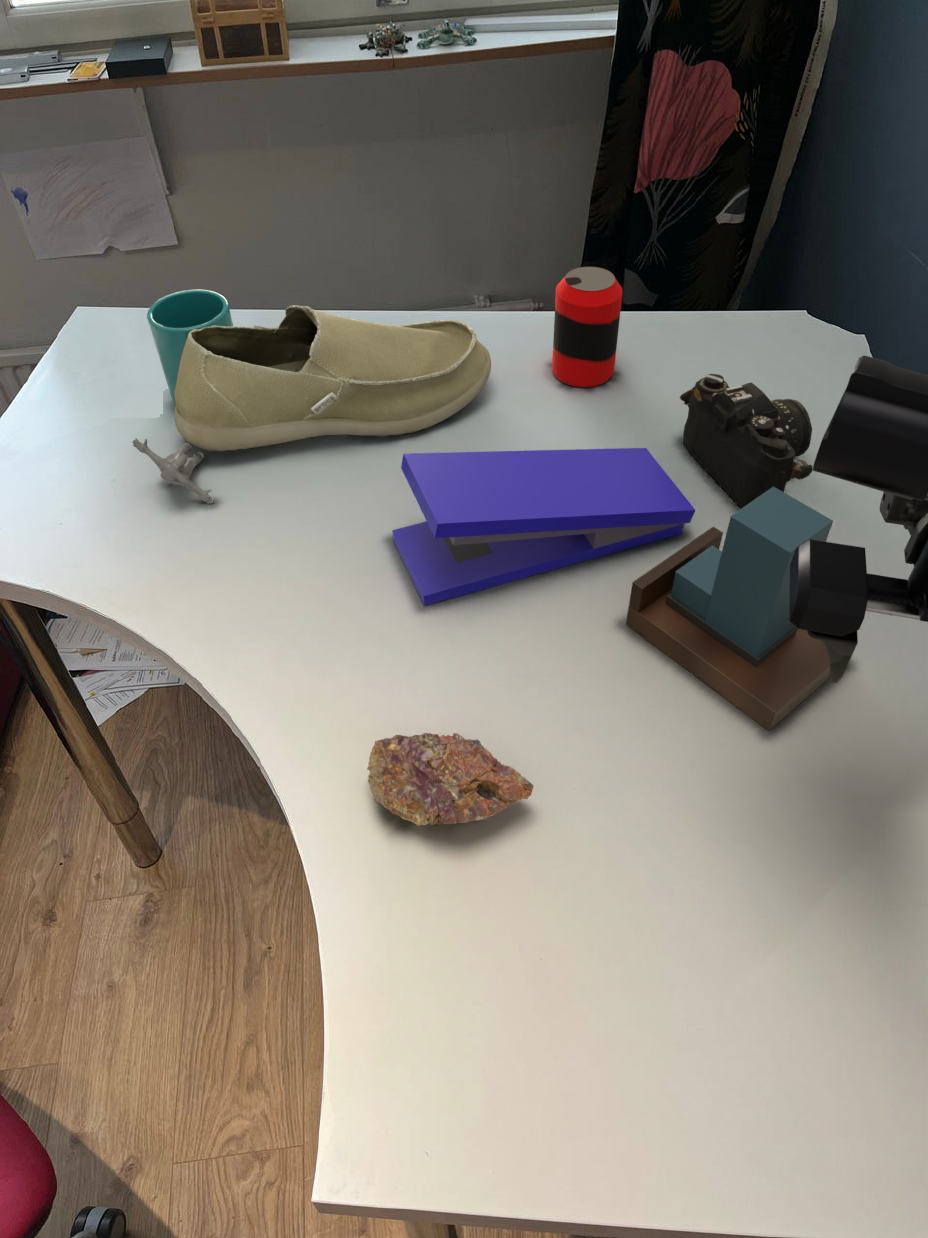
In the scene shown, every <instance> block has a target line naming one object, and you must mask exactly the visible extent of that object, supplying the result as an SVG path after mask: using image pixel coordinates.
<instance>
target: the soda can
mask: <svg viewBox="0 0 928 1238" xmlns="http://www.w3.org/2000/svg"><path fill="white" fill-rule="evenodd" d="M622 300H623V287H622V286H621V284H620V283H619V281H618V280H617V278H616V277H615V275H614V273H612V272H611V271H610V270H608V269H606V268H602V267H597V266H581V267H577V268H574V269H571V270H570V271H568V272H567V273H566V274H565V276H563V278H562V279H561V280H560V281H559V283H557V285H556V288H555V300H554V301H555V302H554V303H555V304H554V321H553V340H552V358H551V370H552V373H553V375H554V376H555V377H556V378H557V379H558V380H559V381H560V382H562V383H563V384H566V385H569V386H572V387H576V388H592V387H597V386H600V385H602V384H604V383H606V382H607V381H608V380H609V379H610V378H612V376H613V375H614V373H615V366H616V357H617V356H616V355H617V348H618V347H617V346H618V339H619V338H618V337H619V330H620V329H619V328H620V320H621V319H620V318H621V311H622Z"/></svg>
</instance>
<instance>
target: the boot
mask: <svg viewBox="0 0 928 1238" xmlns="http://www.w3.org/2000/svg"><path fill="white" fill-rule="evenodd" d="M728 521H729V522H728V525H727V529H726V534H725V537H724V541H723V545H722V550H720V548H719V549H717V548H716V547H714V546H711V547H710V548H708V549H707V550H705V551H704V552H703V553H701V554H700V555H698V556H697V557H696V558H694V559H693V560H691V561H690V562H688V563H687V564H686V565H684V566H683V567H681V568H680V569H679V570H677V571H676V572H675V577H674V582H673V587H672V592H671V593H670V594H669V595H668V596H667V598H666V604H667V605H668V606H670V607H671V608H673V609H674V610H675V611H677V612H678V613H680V614H681V615H683V616H684V617H685V618H687V619H688V620H690V621H691V622H693V623H694V624H695V625H697V626H698V627H700V628H701V629H702V630H704V631H705V632H707V633H708V634H710V635H711V636H712V637H714V638H715V639H717V640H718V641H720V642H721V643H722V644H724V645H725V646H727V647H728V648H729V649H731V650H732V651H734V652H735V653H737V654H738V655H739V656H741V657H742V658H744V659H745V660H747V661H748V662H749V663H751V664H752V665H754V666H755V667H757V666H758V665H759V664H760V663H761V662H763V661H764V660H765V659H766V658H768V657H769V656H770V655H771V654H772V653H774V652H775V651H776V650H777V649H778V648H780V647H781V646H782V645H783V644H785V643H786V642H787V641H788V640H789V639H791V638H792V637H793V636H794V635H796V632H797V629H798V628H797V627H796V626H794V625H793V624H792V623H791V622H790V621H789V596H790V563H791V561H792V558H793V555H794V552H795V549H796V547H797V546H799V545H800V544H802V543H803V542H804V541H806V540H809V539H811V540H818V541H824V542H827V540H828V537H829V534H830V532H831V529H832V526H833V523H834V520H833V519H831V518H829V517H828V516H826V515H824V514H822V513H820V511H817V510H815V509H813V508H812V507H810V506H809V505H807V504H805V503H803V502H801V501H800V500H798V499H796V498H794V497H793V496H791V495H789V494H787V493H785V491H784V492H782V491H780V490H779V489H777V488H775V487H772V488H771V489H769V490H768V491H766V492H765V493H763V494H762V495H761V496H759V497H758V498H756V499H755V500H753V501H752V502H750V503H749V504H748V505H746V506H745V507H743V508H740V509H739V510H737V511H736V512H735V513H733V514H732V515H730V517H729V520H728Z"/></svg>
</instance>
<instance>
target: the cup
mask: <svg viewBox="0 0 928 1238" xmlns="http://www.w3.org/2000/svg"><path fill="white" fill-rule="evenodd" d="M146 319H147V322H148V325H149V329H150V333H151V335H152V339H153V342H154V346H155V348H156V352H157V355H158V358H159V361H160V364H161V368H162V372H163V374H164V378H165V381H166V385H167V387H168V391H169V394H170V397H171V400H172V401H173V403H174V404H175V405H176V401H175V387H176V383H177V377H178V371H179V366H180V361H181V357H182V353H183V349H184V346H185V343H186V340H187V337H188V334H189V333H190V331H192V330H194V329H196V330H200V329H202V328H204V327H209V326H213V325H215V326H227V327H231V326H233V327H235V326H234V323H233V317H232V314H231V309H230V306H229V302H228V300H227V299H226V298H225V297H224V296H223V295H221V294H220V293H218V292H216V291H212V290H207V289H188V290H182V291H177V292H174V293H171V294H167V295H165V296H163V297H162V298H159V299H158V300H157V301H155V302H154V303H153V304H152V305H151V306H150V307H149V308H148V310H147V313H146Z"/></svg>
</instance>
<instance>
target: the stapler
mask: <svg viewBox="0 0 928 1238" xmlns="http://www.w3.org/2000/svg"><path fill="white" fill-rule="evenodd" d="M400 469H401V472H402V473H403V475H404V477H405V479H406V481H407V484H408V486H409V489H410V490H411V492H412V494H413V496H414V498H415V500H416V503H417V505H418V506H419V509H420V511H421V513H422V515H423V517H424V519H425V521H423V522H418V523H415V524H414V523H413V524H410V525H407V526H403V527H399V528H395V529H391V530H392V531H391V533H392V534H391V535H392V541H393V543H394V545H395V547H396V549H397V551H398V553H399V555H400V557H401V560H402V562H403V564H404V566H405V568H406V570H407V572H408V574H409V576H410V579H411V581H412V582H413V585H414V587H415V589H416V591H417V593H418V596H419V597H420V599H421V602H422V604H423V606H424V607H425V606H428V605H433V604H436V603H439V602H443V601H447V600H450V599H454V598H457V597H461V596H465V595H468V594H472V593H474V592H478V591H481V590H482V591H483V590H485V589H489V588H493V587H497V586H500V585H503V584H507V583H510V582H514V581H517V580H521V579H525V578H528V577H531V576H535V575H539V574H542V573H546V572H550V571H553V570H556V569H560V568H564V567H567V566H571V565H574V564H579V563H582V562H586V561H588V560H592V559H596V558H599V557H604V556H607V555H610V554H613V553H617V552H620V551H621V552H622V551H624V550H627V549H632V548H635V547H638V546H642V545H645V544H649V543H653V542H656V541H660V540H663V539H667V538H671V537H675V536H678V535H681V534H683V530H684V525H685V524H691V522H692V519H693V517H694V515H695V513H696V508H695V507H694V506H693V504H692V503H691V502H690V501H689V500H688V499H687V497H686V496H685V495H684V494H683V492H682V491H681V490H680V489H679V487H678V486H677V485H676V484H675V482H674V481H673V480H672V478H670V476H669V474H667V472H666V471H665V470H664V468H663V467H662V466H661V464H660V463H659V462H658V461H657V460H656V459H655V457H654V456H653V455H652V453H651V452H650V451H649V450H648V449H647V447H628V448H627V447H625V448H624V447H623V448H620V447H619V448H618V447H617V448H581V449H577V448H576V449H537V450H535V449H534V450H533V449H532V450H498V451H495V450H494V451H456V452H455V451H453V452H452V451H451V452H412V453H410V452H409V453H403V454H402V460H401V466H400Z"/></svg>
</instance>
